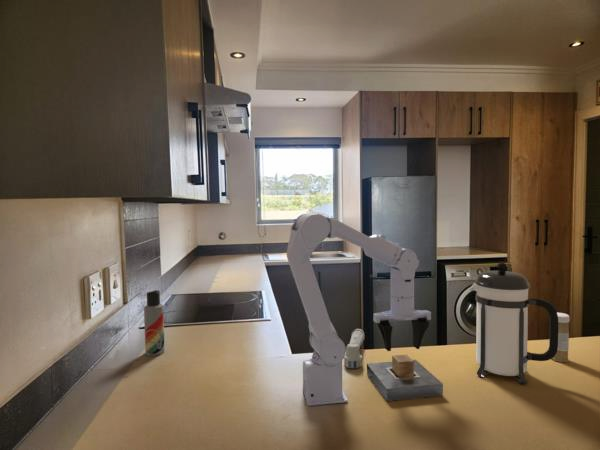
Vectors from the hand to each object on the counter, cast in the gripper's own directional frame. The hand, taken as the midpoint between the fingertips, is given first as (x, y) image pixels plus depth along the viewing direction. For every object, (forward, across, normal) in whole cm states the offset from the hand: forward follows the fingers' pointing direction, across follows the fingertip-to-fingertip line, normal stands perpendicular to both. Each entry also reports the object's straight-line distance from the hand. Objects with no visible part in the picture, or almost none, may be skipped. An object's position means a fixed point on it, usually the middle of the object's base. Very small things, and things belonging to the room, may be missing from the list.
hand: (402, 348), depth 92 cm
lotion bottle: (+10, -68, +34) cm, 77 cm away
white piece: (+10, -5, +22) cm, 25 cm away
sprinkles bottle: (+10, +51, +6) cm, 52 cm away
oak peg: (+9, 0, 0) cm, 9 cm away
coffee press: (+10, +30, +1) cm, 31 cm away
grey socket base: (+9, 0, 0) cm, 9 cm away
